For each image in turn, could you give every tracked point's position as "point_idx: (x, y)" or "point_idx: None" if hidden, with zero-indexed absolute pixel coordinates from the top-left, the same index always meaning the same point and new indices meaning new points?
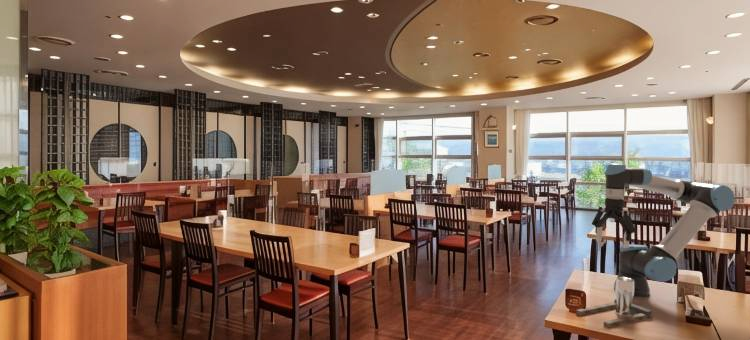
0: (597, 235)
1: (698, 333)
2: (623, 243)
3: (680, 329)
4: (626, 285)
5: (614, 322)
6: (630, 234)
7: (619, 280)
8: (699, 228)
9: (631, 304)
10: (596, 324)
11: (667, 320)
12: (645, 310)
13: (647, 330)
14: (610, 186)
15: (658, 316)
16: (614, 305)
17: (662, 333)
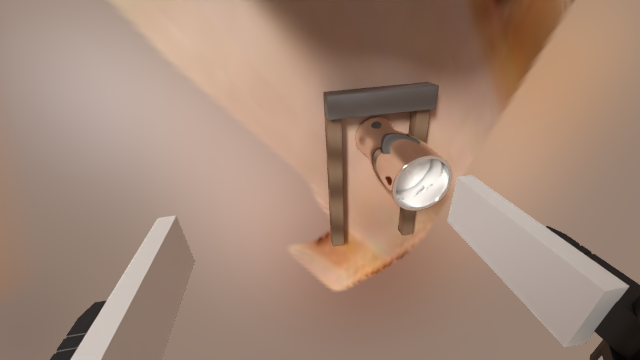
0: (171, 317)
1: (537, 57)
2: (471, 247)
3: (501, 80)
4: (431, 192)
5: (414, 218)
6: (631, 296)
7: (415, 209)
8: None
9: (379, 103)
10: (386, 236)
11: (459, 53)
12: (427, 105)
13: (456, 164)
14: None
15: (432, 50)
16: (341, 133)
17: (481, 146)
